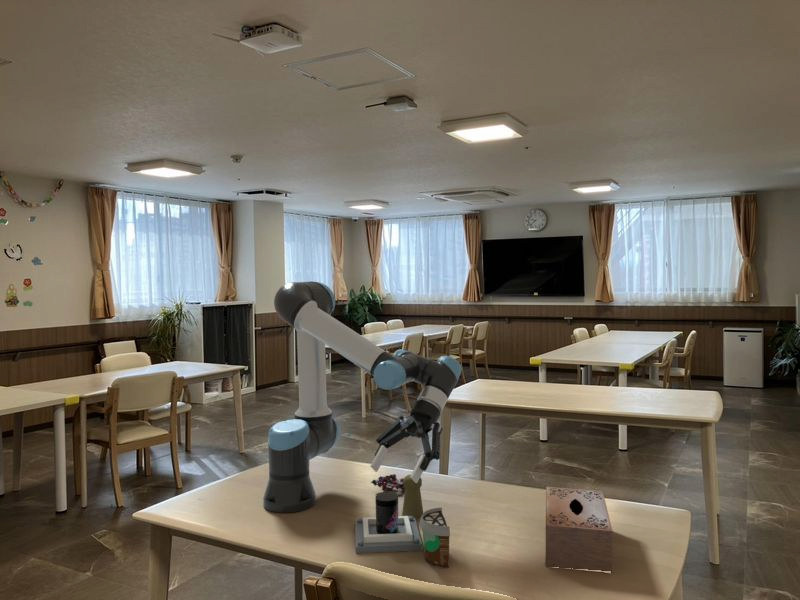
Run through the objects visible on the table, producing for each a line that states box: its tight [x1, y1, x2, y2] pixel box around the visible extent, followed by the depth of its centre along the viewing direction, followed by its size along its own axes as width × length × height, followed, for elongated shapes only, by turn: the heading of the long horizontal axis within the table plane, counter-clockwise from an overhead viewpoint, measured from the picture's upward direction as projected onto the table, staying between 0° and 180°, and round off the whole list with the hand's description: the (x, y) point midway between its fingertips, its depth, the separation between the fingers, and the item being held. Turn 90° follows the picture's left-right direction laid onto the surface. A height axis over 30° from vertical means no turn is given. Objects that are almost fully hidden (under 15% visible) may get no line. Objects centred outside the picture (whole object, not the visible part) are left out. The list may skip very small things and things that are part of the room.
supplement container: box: [374, 492, 399, 534], centre depth 155 cm, size 6×6×9 cm
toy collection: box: [370, 473, 405, 496], centre depth 189 cm, size 15×14×5 cm
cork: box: [401, 474, 424, 520], centre depth 170 cm, size 6×6×11 cm
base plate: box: [354, 515, 423, 554], centre depth 156 cm, size 16×16×3 cm
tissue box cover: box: [544, 486, 613, 572], centre depth 150 cm, size 26×14×10 cm, turn 166°
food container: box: [419, 507, 451, 569], centre depth 144 cm, size 12×6×10 cm, turn 5°
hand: (392, 474), depth 157 cm, fingers open, 13 cm apart
